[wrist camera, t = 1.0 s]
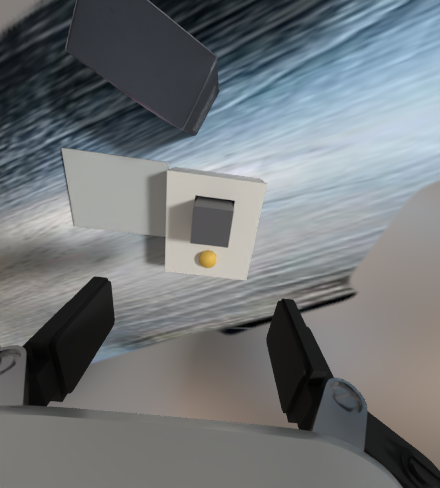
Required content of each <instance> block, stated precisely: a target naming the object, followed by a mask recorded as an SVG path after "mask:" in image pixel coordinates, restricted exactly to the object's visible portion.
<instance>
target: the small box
mask: <svg viewBox="0 0 440 488" xmlns="http://www.w3.org/2000/svg"><path fill="white" fill-rule="evenodd" d="M65 48H66V51H67V52H68V53H69V54H71V55H72V56H74V57H75V58H76V59H78V60H79V61H80V62H82V63H83V64H85V65H86V66H87V67H89V68H90V69H91V70H93V71H94V72H96V73H97V74H98V75H100V76H101V77H102V78H104V79H105V80H107V81H108V82H109V83H111V84H112V85H114V86H115V87H116V88H118V89H119V90H121V91H122V92H123V93H125V94H126V95H128V96H129V97H130V98H132V99H133V100H134V101H136V102H137V103H139V104H140V105H142V106H143V107H145V108H146V109H148V110H149V111H151V112H152V113H154V114H156V115H157V116H159V117H160V118H162V119H163V120H165V121H166V122H168V123H169V124H171V125H173V126H174V127H176V128H178V129H180V130H182V131H185V132H187V133H190V134H192V135H196V134H197V133H198V131H199V129H200V127H201V125H202V124H203V122H204V120H205V118H206V116H207V114H208V112H209V110H210V108H211V106H212V104H213V103H214V101H215V99H216V97H217V95H218V93H219V83H218V73H217V56H216V55H215V54H214V53H212V52H211V51H210V50H209V49H208V48H206V47H205V46H204V45H203V44H201V43H200V42H199V41H198V40H197V39H195V38H194V37H193V36H192V35H190V34H189V33H188V32H187V31H185V30H184V29H183V28H182V27H181V26H179V25H178V24H177V23H176V22H175V21H173V20H172V19H171V18H170V17H169V16H167V15H166V14H165V13H164V12H162V11H161V10H160V9H159V8H157V7H156V6H155V5H154V4H152V3H151V2H150V1H149V0H76V4H75V8H74V13H73V17H72V21H71V25H70V30H69V34H68V39H67V43H66V47H65Z"/></svg>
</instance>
